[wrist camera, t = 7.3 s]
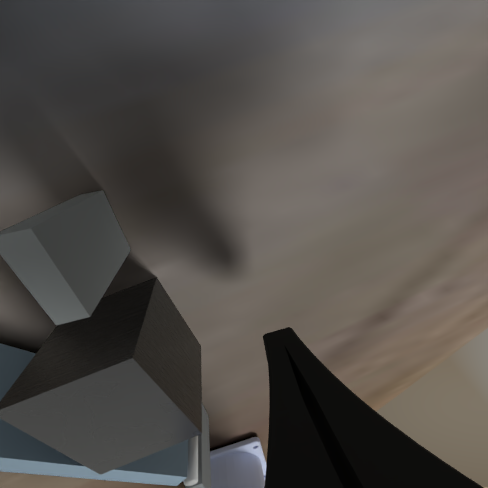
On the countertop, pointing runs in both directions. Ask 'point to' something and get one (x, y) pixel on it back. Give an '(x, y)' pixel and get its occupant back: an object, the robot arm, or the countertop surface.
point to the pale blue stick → (57, 464)
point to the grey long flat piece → (82, 277)
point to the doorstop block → (113, 382)
